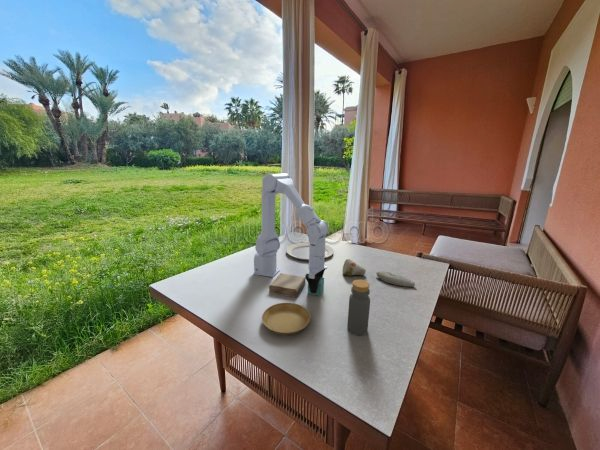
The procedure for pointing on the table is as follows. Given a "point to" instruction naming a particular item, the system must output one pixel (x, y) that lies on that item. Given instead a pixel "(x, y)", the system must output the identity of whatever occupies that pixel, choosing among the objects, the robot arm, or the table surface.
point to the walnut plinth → (287, 285)
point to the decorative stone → (395, 279)
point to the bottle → (359, 308)
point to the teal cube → (319, 289)
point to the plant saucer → (286, 318)
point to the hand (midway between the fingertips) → (315, 287)
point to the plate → (306, 244)
